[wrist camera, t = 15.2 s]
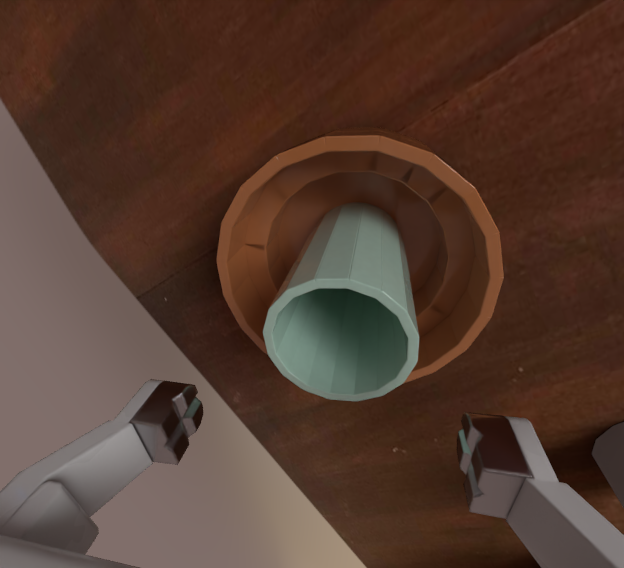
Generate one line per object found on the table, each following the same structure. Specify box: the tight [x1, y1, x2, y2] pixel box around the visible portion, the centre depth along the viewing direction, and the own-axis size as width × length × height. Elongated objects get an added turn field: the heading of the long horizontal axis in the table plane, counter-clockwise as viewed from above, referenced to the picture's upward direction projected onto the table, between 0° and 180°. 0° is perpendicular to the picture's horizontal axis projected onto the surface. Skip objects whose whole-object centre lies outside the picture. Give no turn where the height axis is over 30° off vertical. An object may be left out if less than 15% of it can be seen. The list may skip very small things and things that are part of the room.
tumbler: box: [263, 202, 419, 401], centre depth 16 cm, size 6×6×10 cm
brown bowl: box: [216, 127, 504, 383], centre depth 19 cm, size 14×14×6 cm
